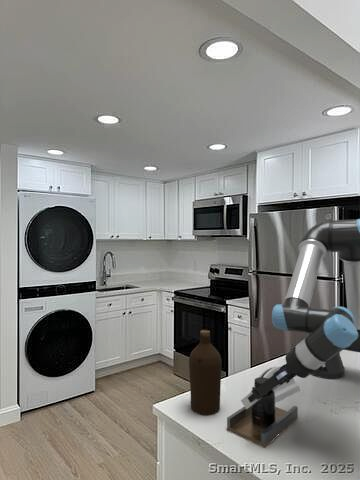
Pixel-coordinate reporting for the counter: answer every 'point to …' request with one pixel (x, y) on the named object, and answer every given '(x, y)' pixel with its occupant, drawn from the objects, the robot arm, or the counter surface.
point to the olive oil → (205, 376)
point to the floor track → (256, 433)
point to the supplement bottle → (264, 406)
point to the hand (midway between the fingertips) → (256, 396)
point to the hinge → (285, 388)
